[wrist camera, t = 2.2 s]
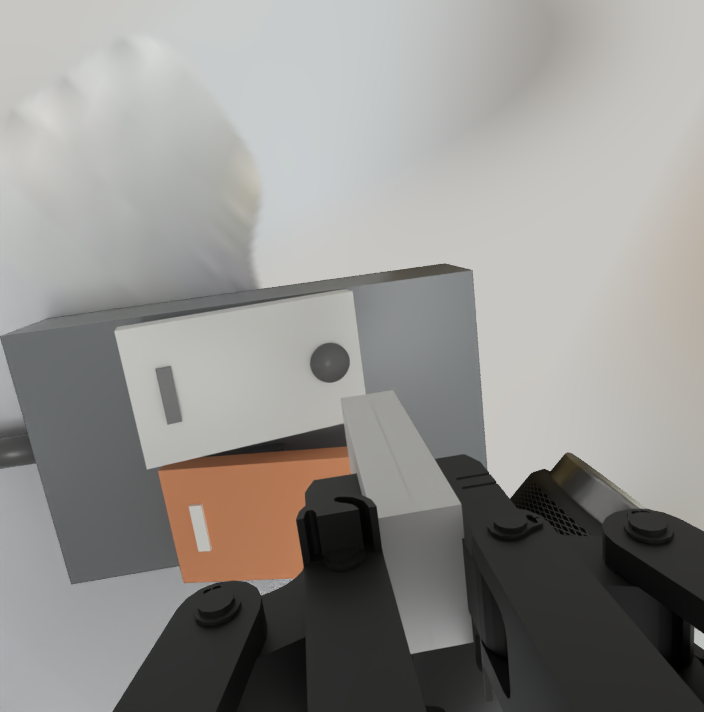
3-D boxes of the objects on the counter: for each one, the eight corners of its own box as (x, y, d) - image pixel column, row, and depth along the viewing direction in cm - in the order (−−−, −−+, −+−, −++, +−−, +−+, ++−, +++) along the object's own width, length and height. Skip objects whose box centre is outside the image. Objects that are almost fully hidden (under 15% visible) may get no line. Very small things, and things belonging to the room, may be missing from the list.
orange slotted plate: (193, 567, 28) (182, 585, 27) (168, 459, 27) (156, 472, 25) (388, 558, 27) (386, 576, 25) (373, 444, 25) (371, 457, 24)
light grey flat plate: (148, 459, 24) (146, 471, 23) (117, 326, 23) (113, 331, 22) (360, 410, 27) (370, 418, 26) (344, 288, 26) (353, 291, 24)
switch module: (0, 548, 32) (-60, 614, 27) (-68, 334, 29) (-152, 359, 24) (462, 472, 34) (495, 519, 29) (445, 263, 31) (477, 271, 26)
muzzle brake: (266, 737, 38) (255, 922, 28) (525, 417, 34) (621, 496, 24) (376, 791, 40) (403, 982, 30) (631, 495, 36) (760, 598, 26)
